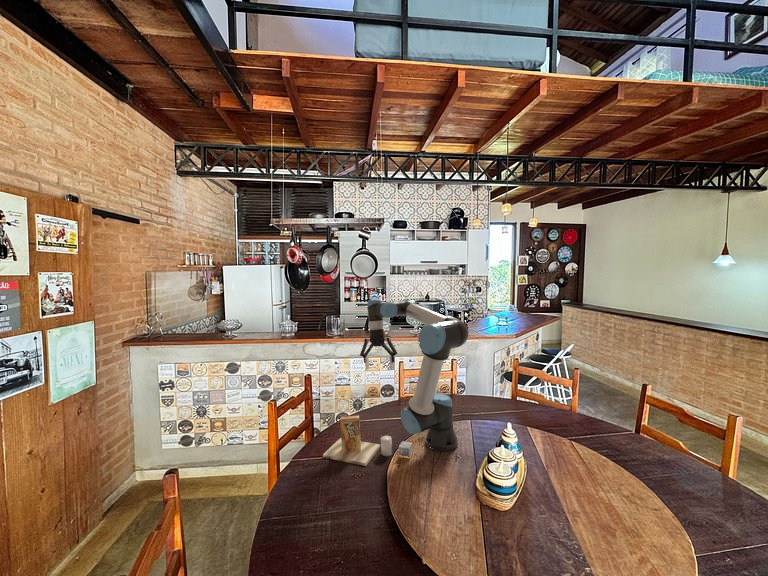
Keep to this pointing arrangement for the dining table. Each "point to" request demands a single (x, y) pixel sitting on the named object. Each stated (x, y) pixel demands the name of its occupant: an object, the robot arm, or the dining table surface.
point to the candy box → (350, 433)
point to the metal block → (405, 448)
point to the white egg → (386, 445)
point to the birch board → (352, 453)
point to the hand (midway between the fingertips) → (379, 369)
